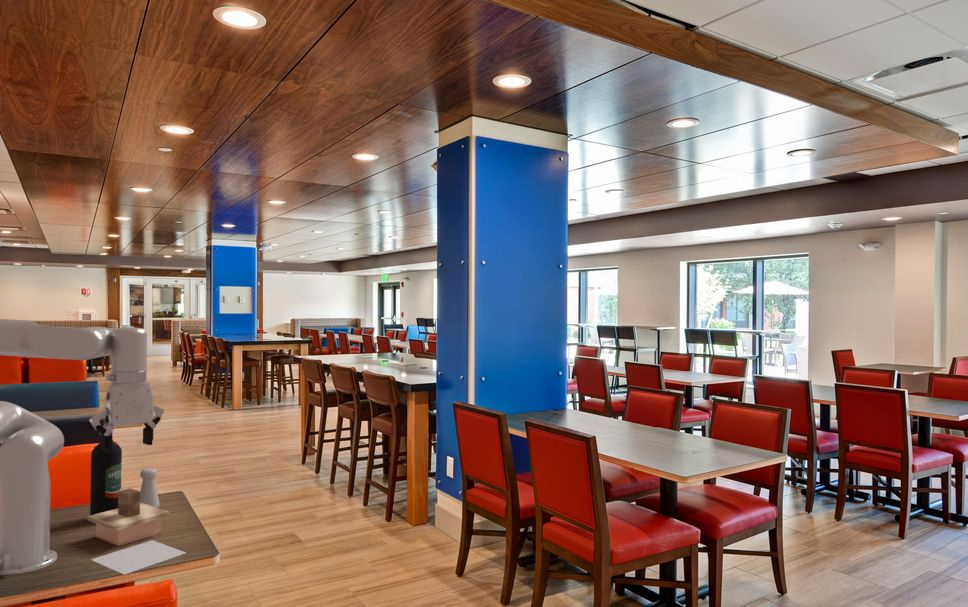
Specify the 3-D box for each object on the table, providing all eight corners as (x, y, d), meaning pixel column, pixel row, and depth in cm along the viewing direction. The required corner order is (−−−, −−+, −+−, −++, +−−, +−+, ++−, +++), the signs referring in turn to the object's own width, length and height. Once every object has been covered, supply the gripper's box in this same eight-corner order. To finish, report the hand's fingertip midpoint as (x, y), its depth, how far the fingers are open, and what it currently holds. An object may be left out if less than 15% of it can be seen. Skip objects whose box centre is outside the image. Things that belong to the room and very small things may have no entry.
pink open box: (118, 547, 156) (118, 527, 156) (96, 538, 162) (96, 519, 162) (160, 534, 165) (161, 515, 165) (138, 526, 171) (138, 508, 171)
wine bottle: (101, 513, 182) (103, 411, 182) (126, 514, 181) (128, 411, 182) (83, 522, 174) (85, 415, 174) (109, 523, 174) (111, 416, 174)
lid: (115, 530, 154) (115, 502, 154) (87, 520, 162) (87, 493, 162) (169, 515, 166) (169, 489, 166) (141, 506, 173) (141, 481, 173)
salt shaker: (163, 510, 185) (164, 467, 185) (151, 517, 179) (152, 472, 179) (145, 509, 185) (145, 466, 185) (132, 516, 180) (133, 471, 180)
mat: (124, 576, 140) (124, 574, 140) (90, 561, 148) (90, 559, 148) (186, 554, 152) (186, 552, 152) (152, 541, 160) (152, 540, 160)
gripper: (99, 382, 142) (98, 456, 142) (171, 376, 157) (170, 443, 157) (83, 380, 146) (82, 452, 146) (155, 374, 161) (154, 439, 161)
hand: (127, 447), depth 152 cm, fingers open, 9 cm apart
